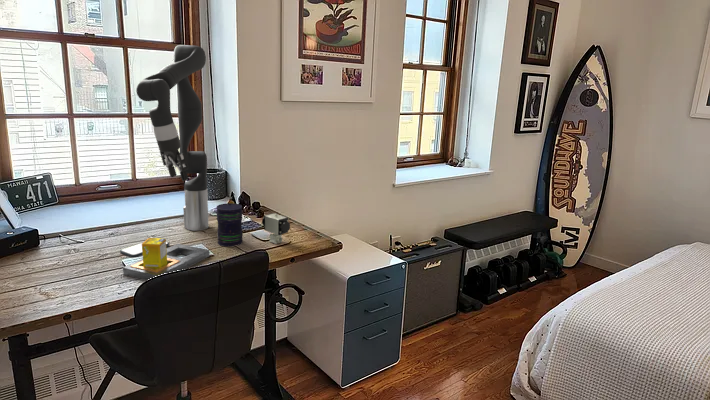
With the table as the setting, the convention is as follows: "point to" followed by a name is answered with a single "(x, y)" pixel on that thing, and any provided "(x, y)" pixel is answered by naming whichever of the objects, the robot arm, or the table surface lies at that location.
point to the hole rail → (168, 262)
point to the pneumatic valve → (276, 226)
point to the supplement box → (154, 253)
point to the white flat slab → (135, 250)
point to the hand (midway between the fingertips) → (179, 178)
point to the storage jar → (229, 224)
